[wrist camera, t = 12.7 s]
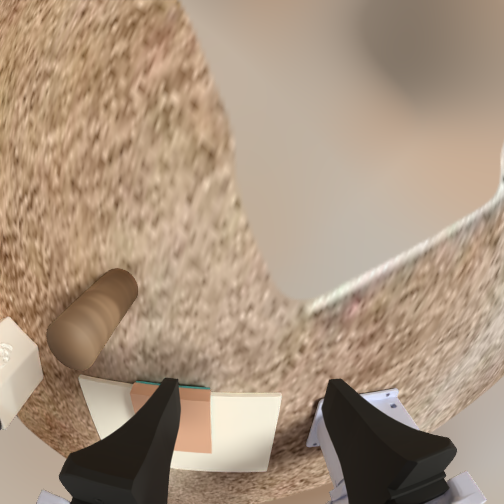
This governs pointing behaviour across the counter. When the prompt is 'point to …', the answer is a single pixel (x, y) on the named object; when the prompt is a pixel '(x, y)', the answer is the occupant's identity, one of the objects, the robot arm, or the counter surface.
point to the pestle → (91, 320)
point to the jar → (16, 370)
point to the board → (222, 419)
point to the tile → (184, 415)
